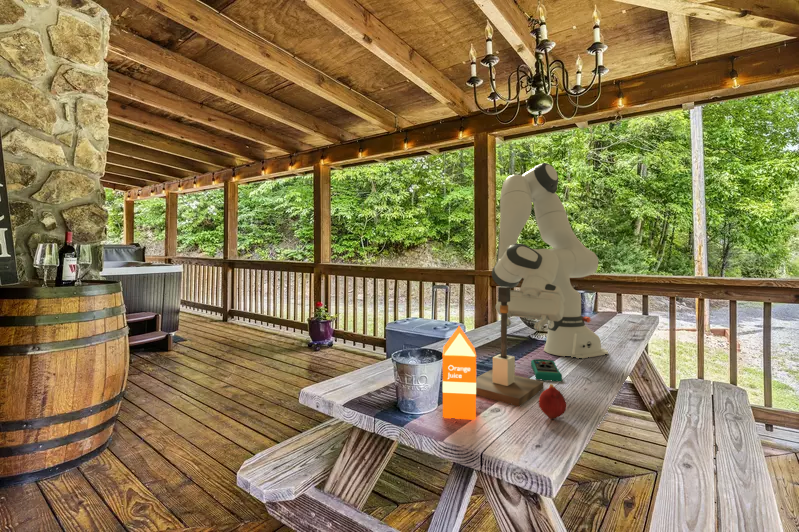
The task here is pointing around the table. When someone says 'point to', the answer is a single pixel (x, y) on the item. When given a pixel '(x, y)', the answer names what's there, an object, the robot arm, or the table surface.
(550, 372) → the digital multimeter
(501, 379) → the small beige block
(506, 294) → the rod stand
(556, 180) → the robot arm
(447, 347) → the orange juice
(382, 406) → the table surface
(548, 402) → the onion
